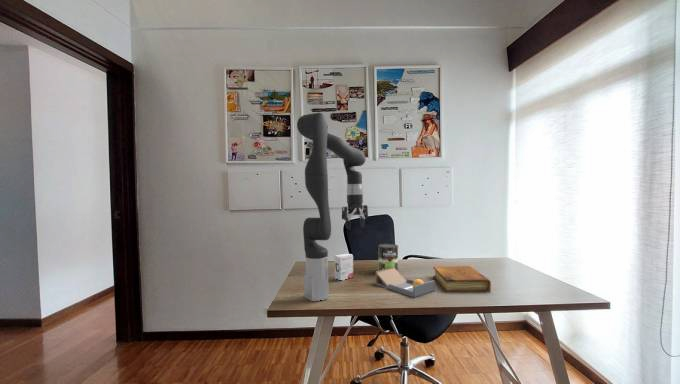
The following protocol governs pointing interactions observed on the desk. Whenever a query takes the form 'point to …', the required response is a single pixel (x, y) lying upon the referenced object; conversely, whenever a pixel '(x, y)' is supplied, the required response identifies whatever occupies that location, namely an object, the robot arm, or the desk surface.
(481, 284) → the diary
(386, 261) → the coffee can
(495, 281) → the desk surface
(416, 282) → the ball
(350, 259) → the ink box
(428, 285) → the rolling lane
